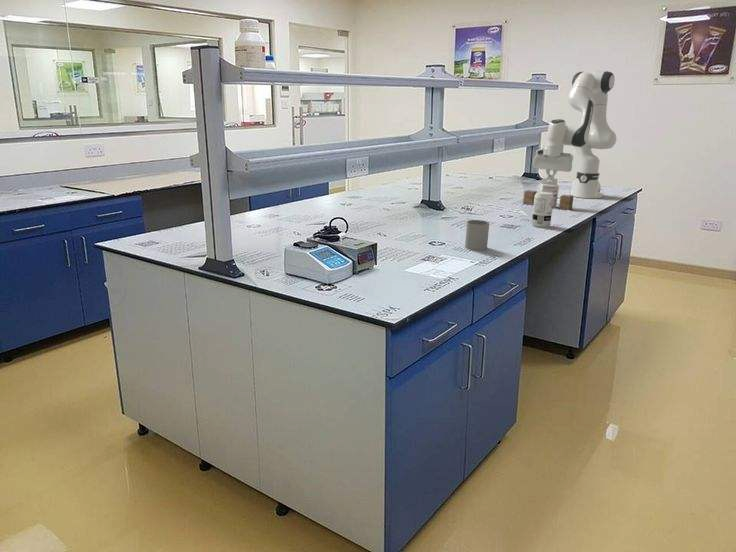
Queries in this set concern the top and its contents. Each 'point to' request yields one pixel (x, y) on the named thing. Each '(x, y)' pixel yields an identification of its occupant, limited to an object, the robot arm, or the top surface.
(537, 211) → the supplement can
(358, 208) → the top surface
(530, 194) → the digit block seven
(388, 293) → the top surface
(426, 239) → the top surface
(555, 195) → the ink box
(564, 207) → the digit block one
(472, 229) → the cup
